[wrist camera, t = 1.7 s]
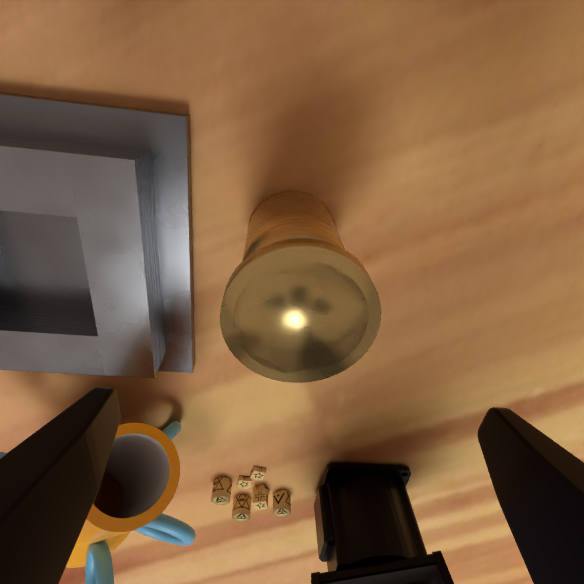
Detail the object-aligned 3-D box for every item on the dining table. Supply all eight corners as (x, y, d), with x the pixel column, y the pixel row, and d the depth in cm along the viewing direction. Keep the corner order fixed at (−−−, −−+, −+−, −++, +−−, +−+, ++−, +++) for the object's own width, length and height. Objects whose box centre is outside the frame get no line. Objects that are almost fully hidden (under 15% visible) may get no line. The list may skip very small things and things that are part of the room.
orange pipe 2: (-13, 434, 25) (-25, 338, 14) (149, 412, 31) (220, 333, 21) (-34, 674, 19) (-77, 790, 9) (167, 589, 25) (274, 601, 15)
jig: (189, 115, 16) (173, 121, 13) (194, 363, 23) (184, 400, 20) (-168, 72, 15) (-264, 70, 12) (-49, 349, 22) (-94, 386, 19)
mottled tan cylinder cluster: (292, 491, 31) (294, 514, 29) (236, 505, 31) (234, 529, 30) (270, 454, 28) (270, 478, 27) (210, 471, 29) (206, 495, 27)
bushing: (350, 188, 18) (399, 256, 11) (332, 282, 20) (362, 386, 13) (242, 177, 17) (221, 240, 10) (238, 275, 20) (218, 378, 13)
